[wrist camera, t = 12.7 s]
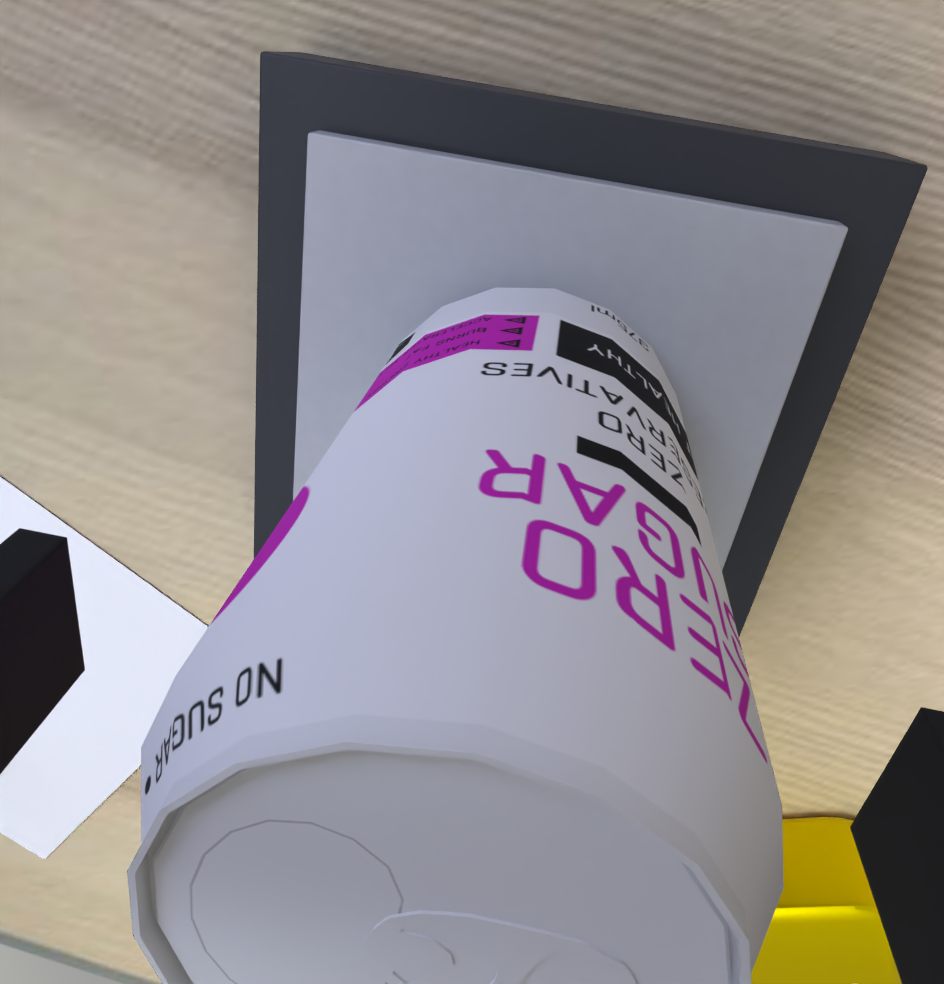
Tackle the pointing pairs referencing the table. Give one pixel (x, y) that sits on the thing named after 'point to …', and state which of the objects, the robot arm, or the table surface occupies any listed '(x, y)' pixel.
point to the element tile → (824, 913)
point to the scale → (564, 263)
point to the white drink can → (472, 694)
